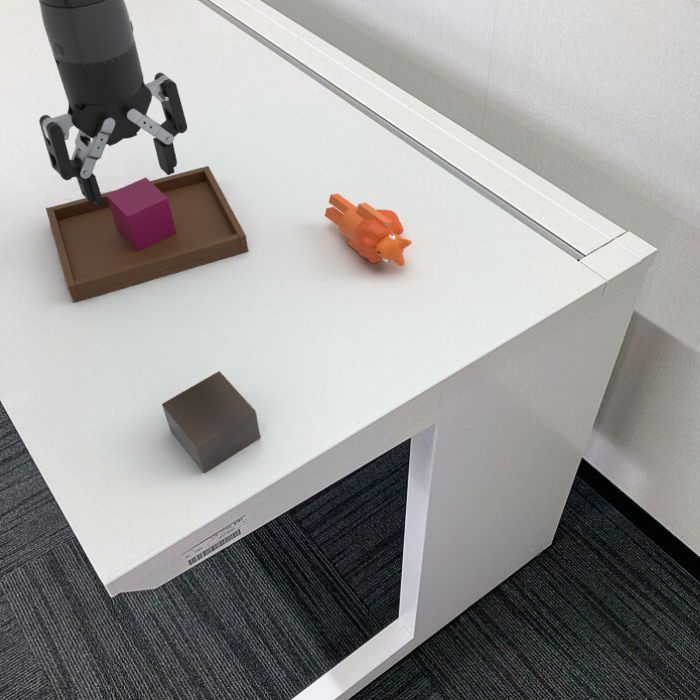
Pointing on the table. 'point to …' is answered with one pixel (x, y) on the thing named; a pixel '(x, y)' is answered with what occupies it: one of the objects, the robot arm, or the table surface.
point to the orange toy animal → (369, 230)
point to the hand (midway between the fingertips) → (132, 186)
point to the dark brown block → (212, 421)
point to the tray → (156, 260)
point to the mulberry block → (141, 214)
